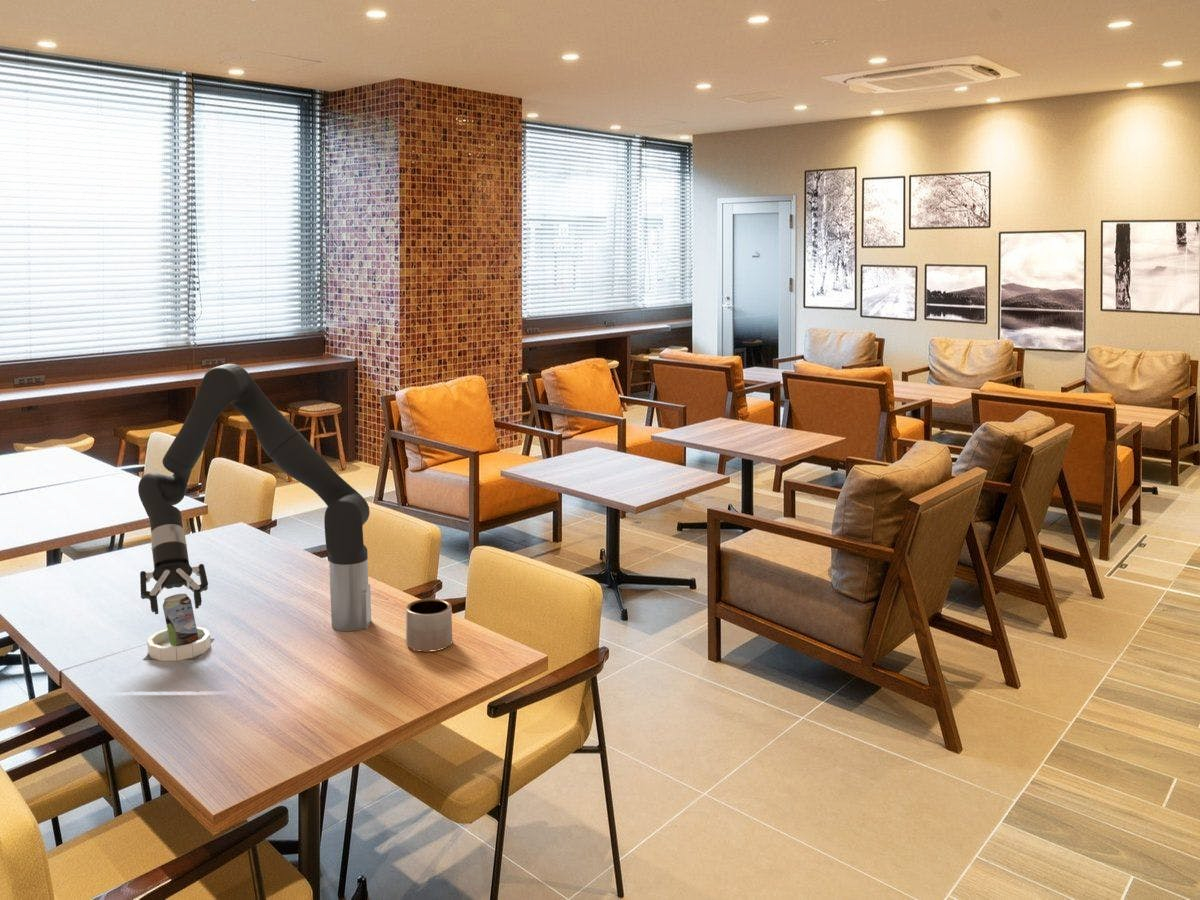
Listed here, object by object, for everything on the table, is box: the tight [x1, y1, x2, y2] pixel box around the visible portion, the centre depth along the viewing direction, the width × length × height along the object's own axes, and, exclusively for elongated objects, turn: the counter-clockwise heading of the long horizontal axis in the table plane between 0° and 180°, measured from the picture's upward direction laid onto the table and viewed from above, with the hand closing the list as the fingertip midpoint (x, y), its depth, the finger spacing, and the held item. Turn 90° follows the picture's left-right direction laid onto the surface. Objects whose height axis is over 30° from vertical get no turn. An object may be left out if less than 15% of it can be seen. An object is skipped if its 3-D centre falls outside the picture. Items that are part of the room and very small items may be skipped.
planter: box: [405, 598, 453, 651], centre depth 228 cm, size 11×11×10 cm
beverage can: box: [162, 593, 198, 646], centre depth 221 cm, size 6×7×12 cm
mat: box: [142, 638, 215, 661], centre depth 222 cm, size 12×12×1 cm
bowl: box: [146, 625, 212, 662], centre depth 222 cm, size 13×13×3 cm
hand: (177, 609), depth 219 cm, fingers open, 8 cm apart
